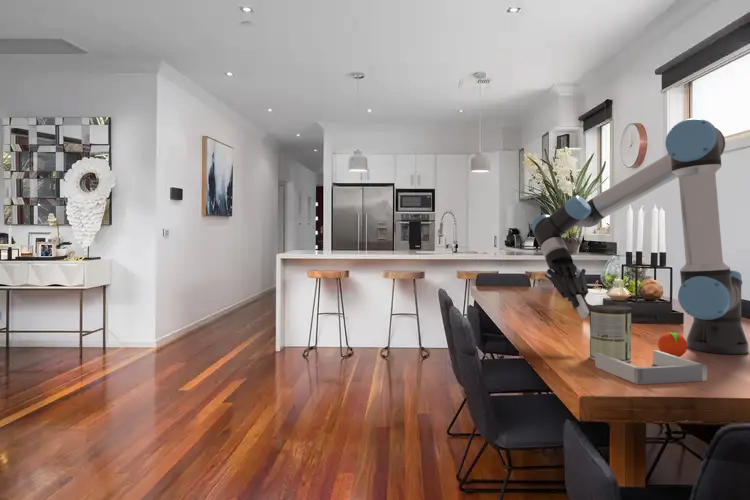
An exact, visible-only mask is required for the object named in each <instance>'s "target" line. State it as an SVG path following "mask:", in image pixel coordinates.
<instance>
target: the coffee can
mask: <svg viewBox="0 0 750 500" xmlns="http://www.w3.org/2000/svg"><path fill="white" fill-rule="evenodd" d="M632 311H633V308H632V307H630V306H626V305H620V304H619V305H618V304H616V305H615V304H594V305H589V312H590V313H589V358H590V359H591V361H592V360H593V361H595V353H601V354H604V355H607V356H610V357H612V358H615V359H618V360H621V361H623V362H626V363H629V364H630V363H631V362H632V355H631V354H632Z"/></svg>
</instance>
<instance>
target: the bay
mask: <svg viewBox="0 0 750 500" xmlns="http://www.w3.org/2000/svg"><path fill="white" fill-rule="evenodd" d="M594 361H595V362H594V363H595V368H597V369H599V370H601V371H604V372H606V373H609V374H612V375H613V376H615V377H616V376H617V377H618V378H621V379H624V380H625V381H628V382H631V383H633V384H636V385H652V384H653V385H654V384H670V383H673V384H674V383H686V382H687V383H690V382H691V381H692V382H705V381H706V382H707V381H708V365H707V364H704V363H701V362H697V361H693V360H691V359H687V358H684V357H682V356H681V357H678V356H674V355H671V354H668V353H664V352H661V351H660V350H659V349H658V350H654V349H653V350H652V364H653V365H655V366H638V365H637V366H636V365H635V364H631V363H630V362H629V363H626V362H623V361H621V360H618V359H615V358H612V357H610V356H607V355H604V354H601V353H595V360H594Z"/></svg>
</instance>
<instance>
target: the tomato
mask: <svg viewBox="0 0 750 500" xmlns="http://www.w3.org/2000/svg"><path fill="white" fill-rule="evenodd" d="M657 346H658V347H657V348H658V350H659V351H661V352H664V353H668V354H671V355H674V356H678V357H681V358H682V356H683V355H685V354H686V352H687V350H688V347H687V342H686V339H685V337H684V336H683V335H681V334H680V333H678V332H674V331H670V332H665V333H664V334H662V335H661V336H660V337H659V339H658V342H657Z"/></svg>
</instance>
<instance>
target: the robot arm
mask: <svg viewBox="0 0 750 500" xmlns="http://www.w3.org/2000/svg"><path fill="white" fill-rule="evenodd" d="M664 143H665V148H666V149H665V150H666V152H667V153H666V155H664V156H662V157H661V158H659V159H657V160H656V161H654V162H652V163H650V164H649V165H647V166H645V167H643V168H641V170H638V171H637V172H635V173H633V174H631V175H630V176H628V177H627V178H624V179H622V180H621V181H620V182H618V183H615V184H614V185H613V186H611V187H610V188H608V189H606V190H604V191H602V192H601V193H599V194H597V195H596V196H594V197H592V198H591V199H589V200H587V201H586V200H585V199H584V198H583V197H581V196H579V195H574V196H572V197H571V198H570V199H568V200H566V201H565V202H564V204H563V205H561V206H560V207H559V208H558V209H556V210H555V211H554V212H553V213H552V214H550V215H549V214H542V215H540V216H537V217H535V218H534V219H533V220H532V221H531V230H532V233H533V236H534V238H535V240H536V241H537V243H538V247H540V251H541V253H542V255H543V257H544V259H545V262H546V264H547V266H548V269H547V270H546V272H545V274H544V276H545V278H547V279H548V280H549V281H550V282H551V284H552V285H553V286H554V287H555V289H556V290H557V291H558V293H559V294H560V295H561V297H562V298H563V299H566V298H567V301H568V302H571V305H572V307H574V308H576V310H577V313H578V315H579V316H580V318H581V319H586V318H587V317H588V316H589V315H590V309H589V307H588V306H587V305H588V301H587V300H586V296H587V295H588V294H589V289H588V283H587V279H586V272H587V270H586V269H584V268H582V269H580V268H577V267H578V266H577V265H576V264H574V260H573V257H572V254H571V253H570V251H569V248H568V247H567V245H566V242H565V241H564V239H563V236H564V235H565V234H567V232H569V231H570V230H572V229H573V228H574V227H584V228H591V227H595V226H596V225H598V224H599V223H600V222H601V220H603V219H604V218H606V217H608V216H610V215H611V214H613V213H616V212H617V211H619V210H621V209H623V208H624V207H626V206H628V205H630V204H631V203H633V202H636V201H637V200H639V199H640V198H641V199H642V198H643V197H644V196H647V195H649V194H650V193H652V192H654V191H655V190H658V189H659V188H661V187H663V186H664V185H666V184H668V183H670V182H672V181H674V180H676V179H678V184H679V197H680V208H681V221H682V231H683V232H682V233H683V245H684V257H685V259H684V260H685V264H684V266H683V267H681V268H680V269H679V272H680V274H679V275H680V286H679V289H678V293H677V300H678V303H679V306H680V307H681V309H682V310H683V311H684V312H685V313H686V314H687V315H689V316H690V317H692V318H693V320H692V324H691V326H690V329H689V332H688V334H687V336H686V339H685V340H686V342H687V349H691V350H695V351H697V352H698V351H699V352H704V353H712V354H723V355H741V354H747V353H749V342H748V339H747V337H746V334H745V332H744V329H743V327H742V326H743V325H742V285H743V280H742V274H741V272H739V271H738V270H733V269H731V267H730V266H729V265H727V264H726V263H725V262H724V261H723V257H724V256H723V247H722V235H721V224H720V213H719V203H718V202H719V201H718V190H717V177H716V175H717V174H716V173H717V172H718V171H719V170H720V169H721V168H722V157H721V156H722V155H723V153H724V152H725V148H726V139H725V136H724V134H723V132H722V131H721V130H720V129H718V128H717V127H715V125H714V124H712V123H711V122H710V121H709V120H706V119H703V118H694V117H693V118H688V119H684V120H682V121H680V122H678V123H676V124H674V126H673V127H672V128H671V129H670V130H669V131H668V134H667V135H666V138H665V142H664Z"/></svg>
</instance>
